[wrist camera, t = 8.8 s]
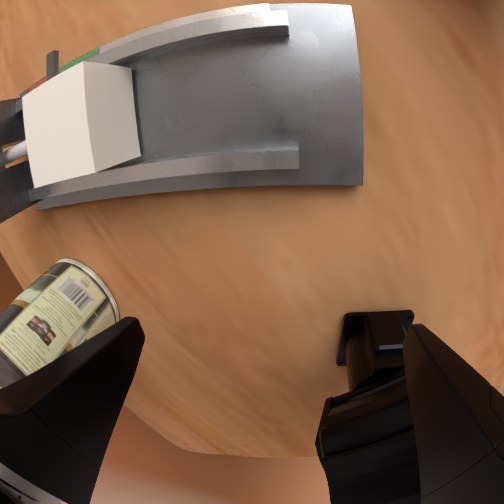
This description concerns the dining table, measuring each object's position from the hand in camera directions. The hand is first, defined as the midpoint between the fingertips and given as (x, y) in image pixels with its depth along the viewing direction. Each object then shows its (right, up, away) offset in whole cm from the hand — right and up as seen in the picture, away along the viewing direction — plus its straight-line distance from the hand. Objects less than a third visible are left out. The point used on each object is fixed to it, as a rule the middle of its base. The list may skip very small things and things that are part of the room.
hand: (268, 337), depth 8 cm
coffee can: (-19, -2, +18) cm, 27 cm away
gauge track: (-8, +13, +8) cm, 17 cm away
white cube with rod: (-16, +13, +8) cm, 22 cm away
